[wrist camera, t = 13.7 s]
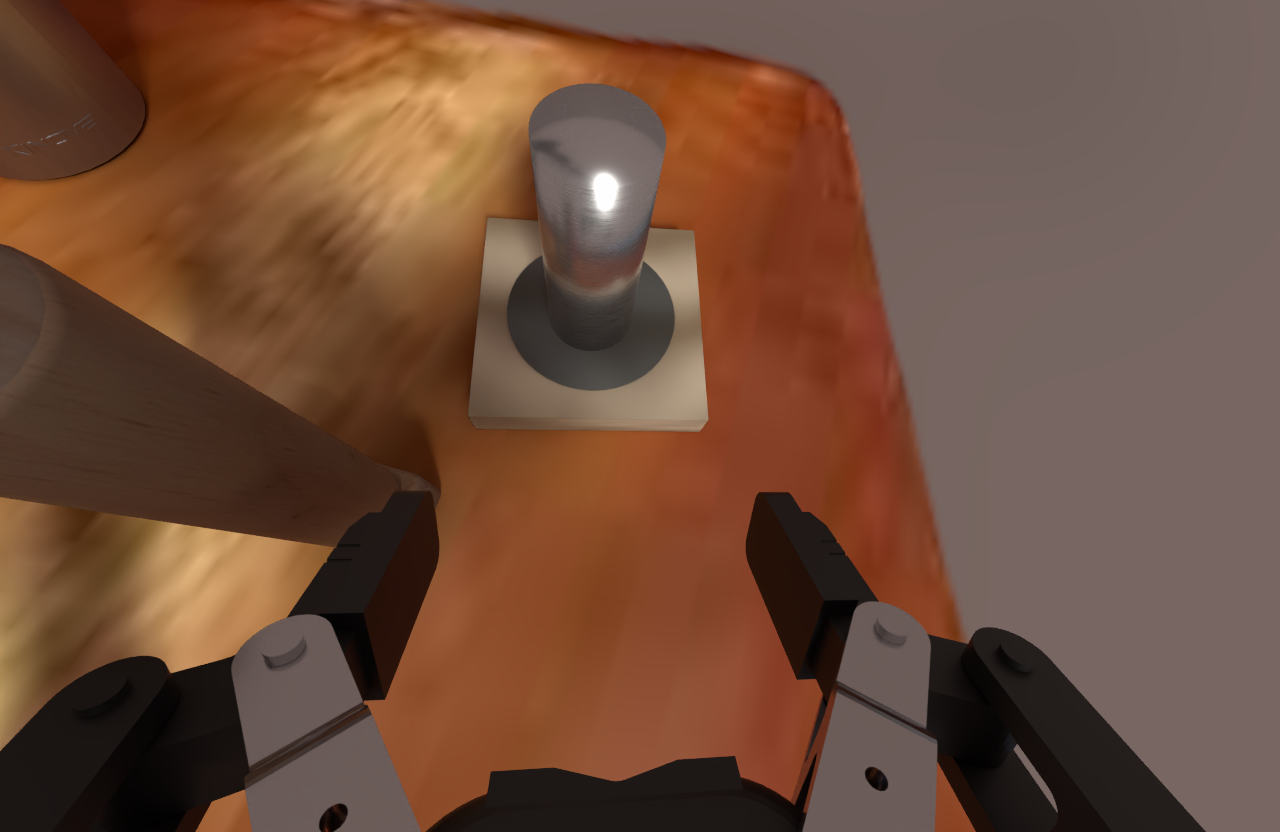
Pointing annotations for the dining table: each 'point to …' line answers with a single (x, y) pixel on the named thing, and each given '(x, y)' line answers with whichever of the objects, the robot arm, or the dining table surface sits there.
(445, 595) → the dining table surface
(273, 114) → the dining table surface
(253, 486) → the wooden block
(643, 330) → the rest block
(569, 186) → the axle
